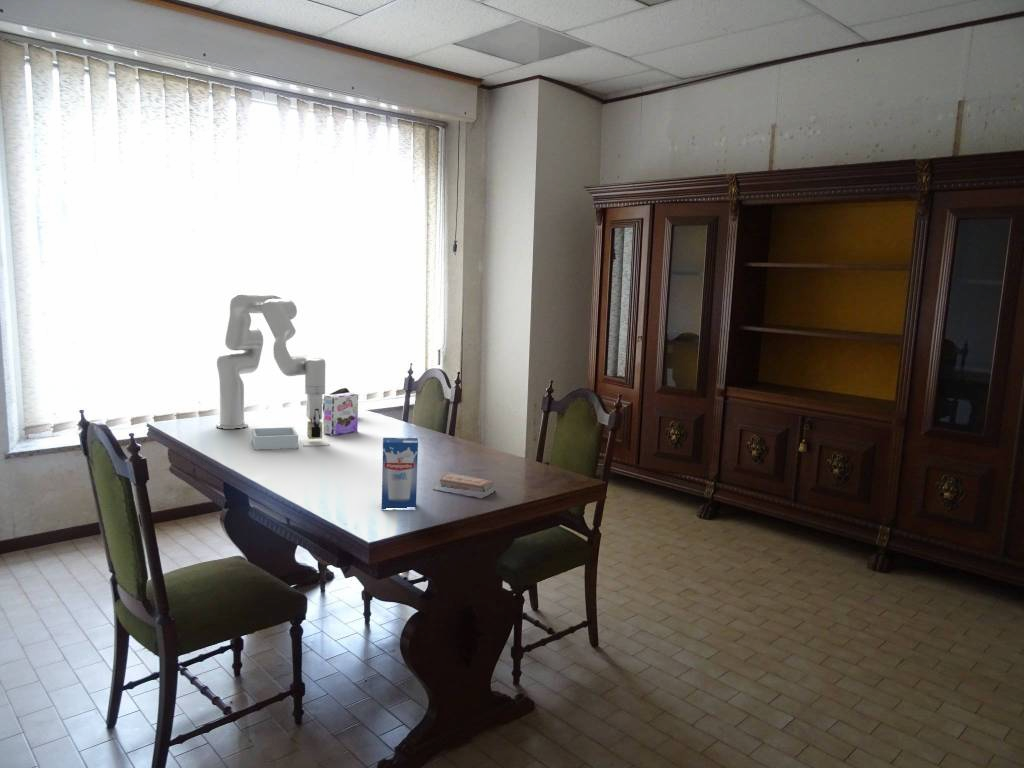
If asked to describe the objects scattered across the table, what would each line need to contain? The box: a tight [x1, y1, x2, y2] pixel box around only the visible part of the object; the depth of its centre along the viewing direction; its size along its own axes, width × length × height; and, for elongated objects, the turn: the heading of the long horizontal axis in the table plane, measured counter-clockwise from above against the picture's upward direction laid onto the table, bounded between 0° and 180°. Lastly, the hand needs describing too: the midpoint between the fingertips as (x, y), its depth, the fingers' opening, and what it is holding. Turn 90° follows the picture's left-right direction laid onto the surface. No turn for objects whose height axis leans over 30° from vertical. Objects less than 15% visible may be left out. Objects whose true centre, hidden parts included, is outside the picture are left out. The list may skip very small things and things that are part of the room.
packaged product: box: [439, 472, 494, 492], centre depth 234 cm, size 18×5×10 cm
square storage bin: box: [251, 426, 299, 451], centre depth 284 cm, size 16×16×5 cm
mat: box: [299, 438, 330, 447], centre depth 290 cm, size 10×10×1 cm
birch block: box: [306, 420, 323, 439], centre depth 289 cm, size 5×5×6 cm
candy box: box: [322, 392, 359, 437], centre depth 309 cm, size 14×6×16 cm, turn 143°
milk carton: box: [381, 437, 419, 510], centre depth 214 cm, size 10×6×20 cm, turn 99°
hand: (314, 435), depth 289 cm, fingers closed on birch block, 4 cm apart
